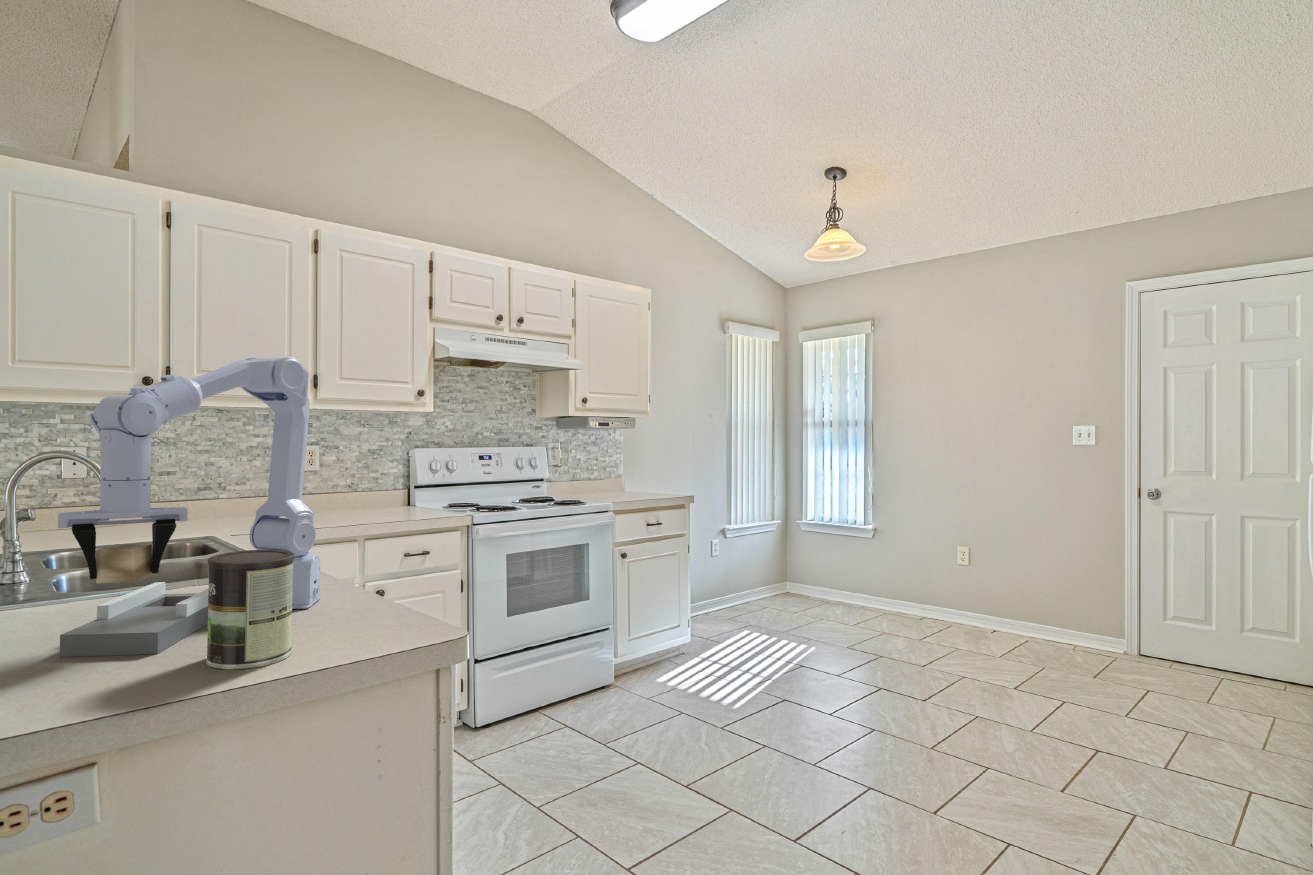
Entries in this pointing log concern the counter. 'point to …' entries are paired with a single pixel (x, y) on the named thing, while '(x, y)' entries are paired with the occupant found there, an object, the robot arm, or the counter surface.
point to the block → (124, 563)
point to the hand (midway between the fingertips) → (124, 575)
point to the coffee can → (249, 608)
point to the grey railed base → (138, 623)
